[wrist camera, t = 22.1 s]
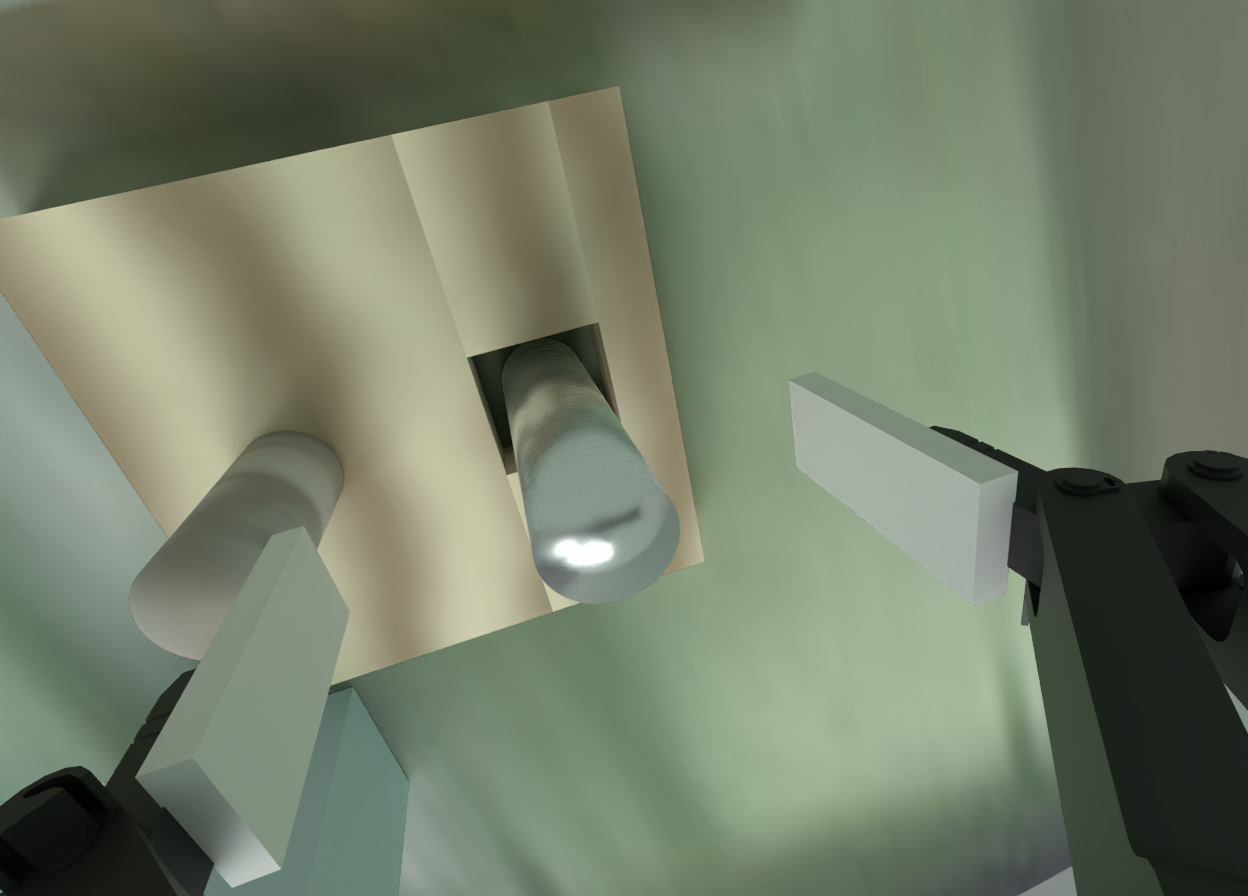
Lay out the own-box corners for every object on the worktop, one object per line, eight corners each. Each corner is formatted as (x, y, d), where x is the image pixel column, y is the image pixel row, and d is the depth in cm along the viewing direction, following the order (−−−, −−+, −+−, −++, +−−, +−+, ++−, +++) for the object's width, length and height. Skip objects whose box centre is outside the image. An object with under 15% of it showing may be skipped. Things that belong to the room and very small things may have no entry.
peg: (515, 426, 24) (555, 623, 13) (490, 350, 22) (512, 502, 12) (591, 403, 24) (690, 575, 13) (571, 328, 23) (665, 453, 12)
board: (295, 657, 25) (209, 891, 17) (22, 223, 17) (-396, 256, 9) (685, 531, 28) (781, 682, 19) (601, 97, 20) (703, 28, 11)
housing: (267, 833, 29) (191, 1080, 21) (192, 740, 26) (68, 988, 18) (409, 782, 30) (388, 1000, 22) (353, 686, 27) (304, 900, 19)
